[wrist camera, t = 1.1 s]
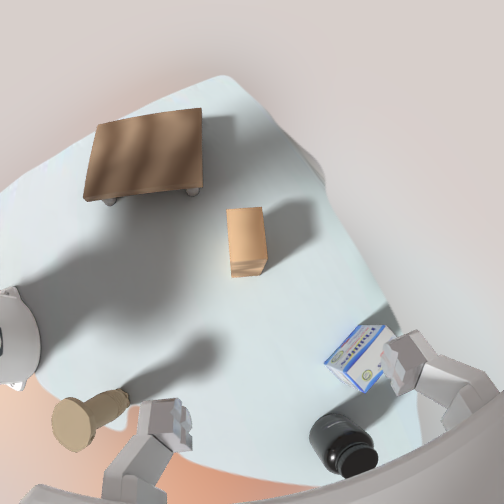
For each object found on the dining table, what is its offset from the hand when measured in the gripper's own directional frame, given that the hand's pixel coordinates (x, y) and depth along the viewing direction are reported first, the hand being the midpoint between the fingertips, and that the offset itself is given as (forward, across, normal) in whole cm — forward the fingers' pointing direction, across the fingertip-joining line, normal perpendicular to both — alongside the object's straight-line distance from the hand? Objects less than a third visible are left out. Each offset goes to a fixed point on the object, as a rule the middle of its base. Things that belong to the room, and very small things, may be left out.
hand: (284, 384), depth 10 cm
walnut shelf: (+41, +12, -4) cm, 43 cm away
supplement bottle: (+11, -5, +33) cm, 35 cm away
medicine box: (+19, -11, +25) cm, 33 cm away
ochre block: (+30, +1, +10) cm, 31 cm away
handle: (+17, +23, +21) cm, 36 cm away
